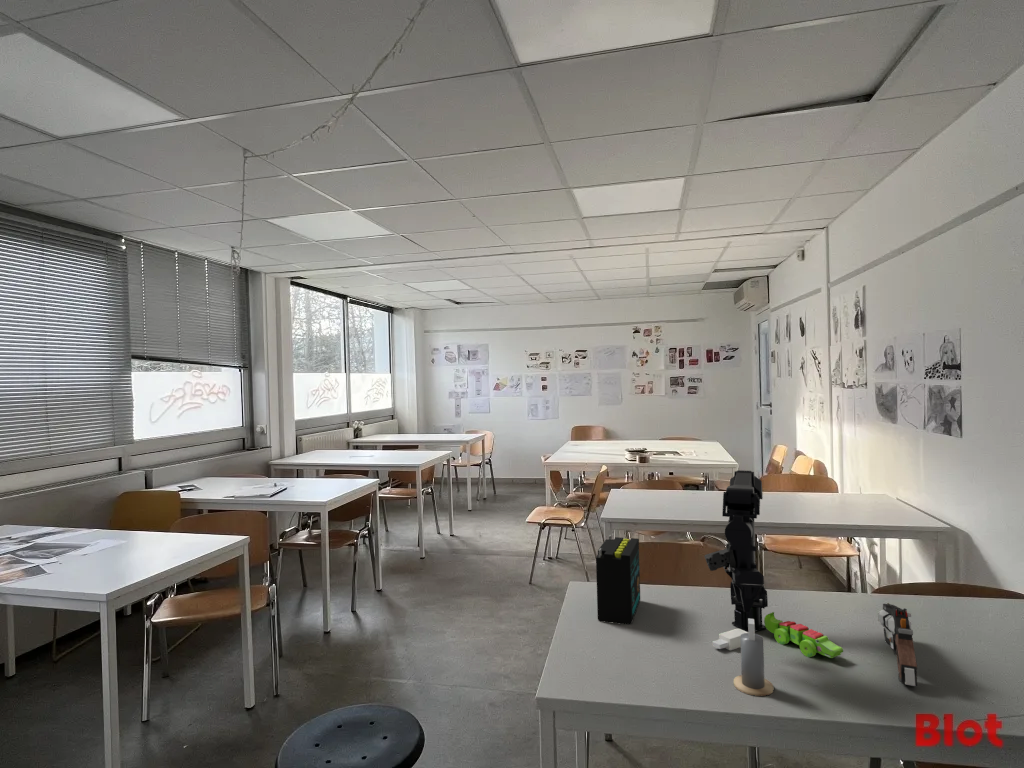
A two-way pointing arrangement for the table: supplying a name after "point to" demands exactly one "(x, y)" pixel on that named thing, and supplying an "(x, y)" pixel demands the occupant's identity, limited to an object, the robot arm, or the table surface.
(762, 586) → the robot arm
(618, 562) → the battery
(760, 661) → the grey plug
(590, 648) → the table surface
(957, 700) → the table surface
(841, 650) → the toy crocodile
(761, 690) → the cork coaster
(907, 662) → the toy gun
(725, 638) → the small lying plug
